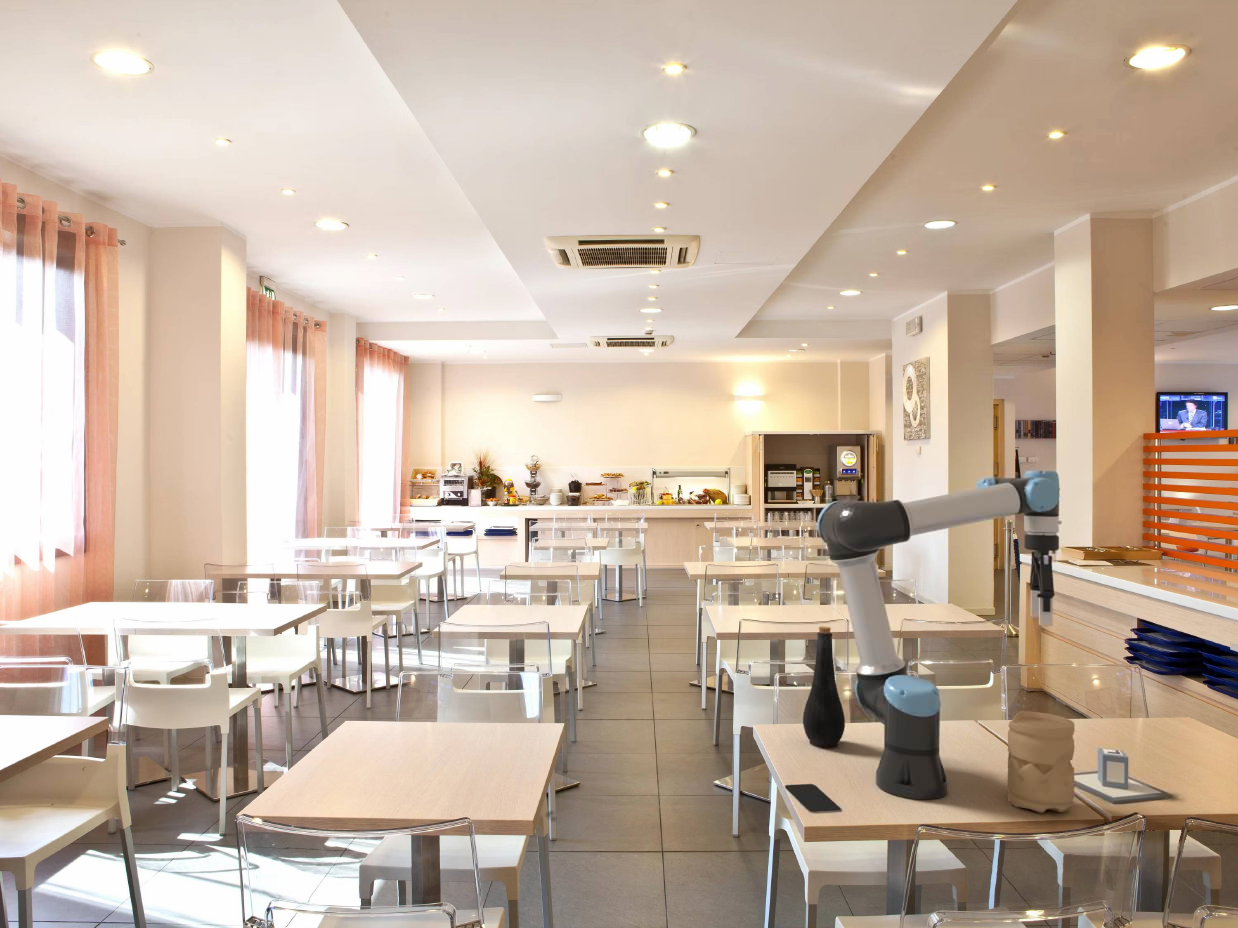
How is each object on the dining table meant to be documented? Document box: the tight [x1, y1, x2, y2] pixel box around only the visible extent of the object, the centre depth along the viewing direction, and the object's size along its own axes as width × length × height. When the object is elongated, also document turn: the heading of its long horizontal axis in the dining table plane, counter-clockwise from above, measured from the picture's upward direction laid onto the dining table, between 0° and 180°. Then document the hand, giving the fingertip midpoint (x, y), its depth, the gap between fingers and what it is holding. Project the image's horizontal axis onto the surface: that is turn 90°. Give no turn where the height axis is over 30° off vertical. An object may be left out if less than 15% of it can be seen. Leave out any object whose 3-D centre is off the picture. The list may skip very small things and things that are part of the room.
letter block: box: [1097, 747, 1129, 789], centre depth 185 cm, size 5×5×7 cm
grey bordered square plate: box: [1074, 770, 1174, 805], centre depth 185 cm, size 16×16×1 cm
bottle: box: [802, 626, 846, 749], centre depth 213 cm, size 11×11×30 cm
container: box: [1007, 710, 1075, 814], centre depth 174 cm, size 13×13×18 cm
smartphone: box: [784, 783, 842, 814], centre depth 176 cm, size 7×1×15 cm
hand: (1041, 621), depth 200 cm, fingers open, 13 cm apart
